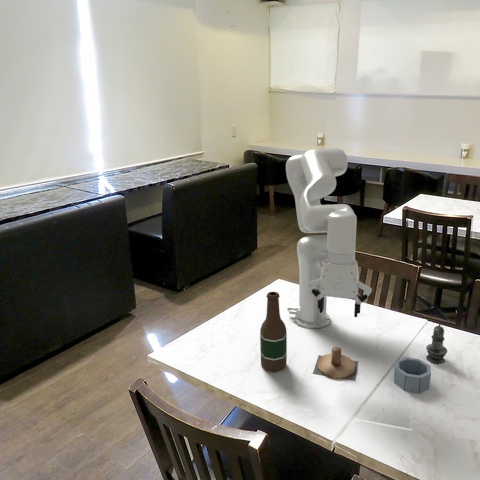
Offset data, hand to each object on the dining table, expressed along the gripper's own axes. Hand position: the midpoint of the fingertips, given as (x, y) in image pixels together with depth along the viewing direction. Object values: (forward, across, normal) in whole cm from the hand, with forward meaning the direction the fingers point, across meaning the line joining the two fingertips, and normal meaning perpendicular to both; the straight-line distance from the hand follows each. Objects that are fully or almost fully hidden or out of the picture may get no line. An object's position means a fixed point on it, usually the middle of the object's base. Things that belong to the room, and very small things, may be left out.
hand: (338, 312), depth 129 cm
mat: (+18, 0, 0) cm, 18 cm away
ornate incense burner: (+18, +28, +13) cm, 36 cm away
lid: (+18, 0, 0) cm, 18 cm away
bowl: (+18, +21, -1) cm, 28 cm away
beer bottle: (+18, -18, -4) cm, 26 cm away
